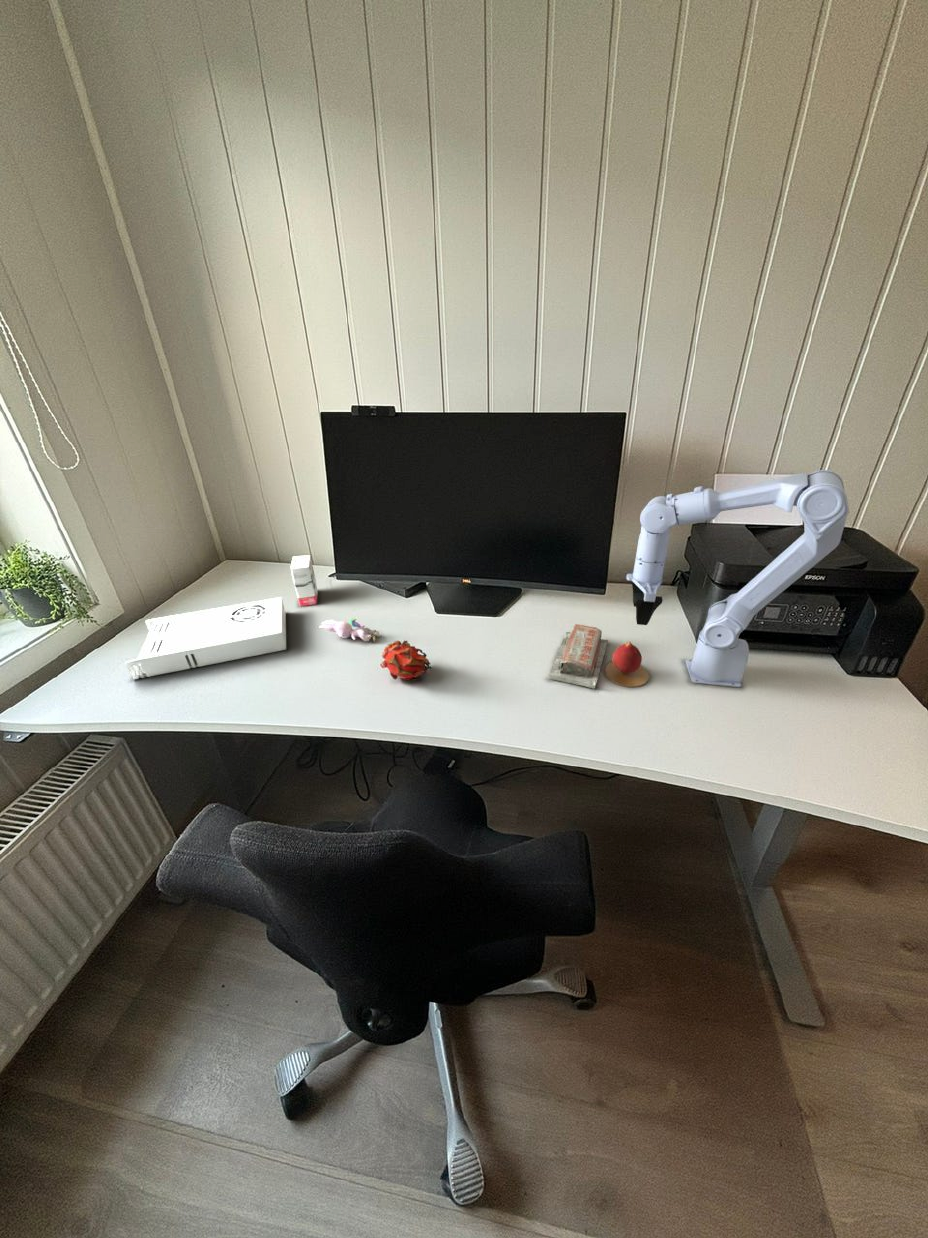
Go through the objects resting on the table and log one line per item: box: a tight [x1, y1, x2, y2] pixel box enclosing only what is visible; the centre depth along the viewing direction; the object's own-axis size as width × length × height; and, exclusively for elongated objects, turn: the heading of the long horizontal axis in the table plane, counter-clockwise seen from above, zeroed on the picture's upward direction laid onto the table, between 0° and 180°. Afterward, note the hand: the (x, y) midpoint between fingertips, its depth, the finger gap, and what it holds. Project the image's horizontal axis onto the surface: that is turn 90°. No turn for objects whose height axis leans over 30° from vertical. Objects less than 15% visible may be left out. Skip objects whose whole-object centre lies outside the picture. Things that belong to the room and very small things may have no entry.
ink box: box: [290, 555, 319, 607], centre depth 135 cm, size 8×5×12 cm, turn 13°
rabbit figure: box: [318, 618, 380, 642], centre depth 118 cm, size 6×6×15 cm
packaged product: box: [548, 623, 609, 690], centre depth 107 cm, size 18×5×10 cm
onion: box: [612, 641, 643, 674], centre depth 101 cm, size 6×6×8 cm
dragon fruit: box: [379, 640, 432, 682], centre depth 104 cm, size 8×8×12 cm
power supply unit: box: [125, 596, 287, 680], centre depth 118 cm, size 19×33×5 cm, turn 108°
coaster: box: [604, 661, 650, 688], centre depth 104 cm, size 9×9×1 cm
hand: (640, 614), depth 105 cm, fingers open, 7 cm apart
